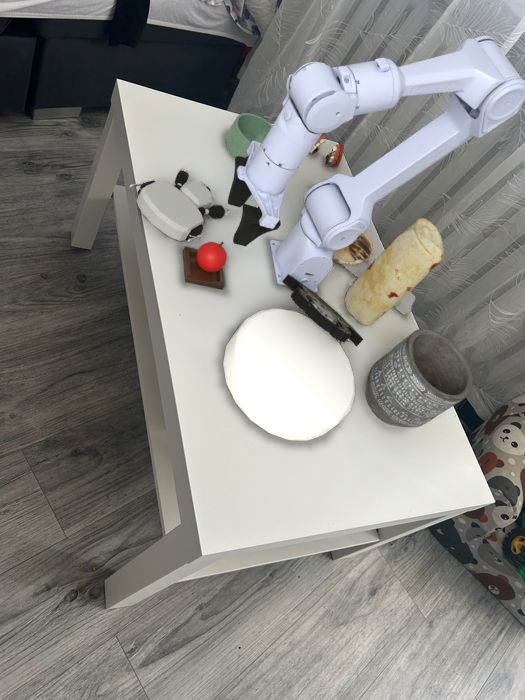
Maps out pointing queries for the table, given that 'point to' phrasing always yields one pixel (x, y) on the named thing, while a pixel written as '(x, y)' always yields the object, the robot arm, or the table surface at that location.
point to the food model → (395, 272)
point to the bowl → (246, 133)
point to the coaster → (200, 271)
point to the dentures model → (334, 156)
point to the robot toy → (178, 206)
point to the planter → (418, 380)
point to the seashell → (354, 251)
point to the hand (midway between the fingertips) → (236, 223)
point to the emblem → (321, 312)
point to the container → (289, 374)
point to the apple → (211, 256)
